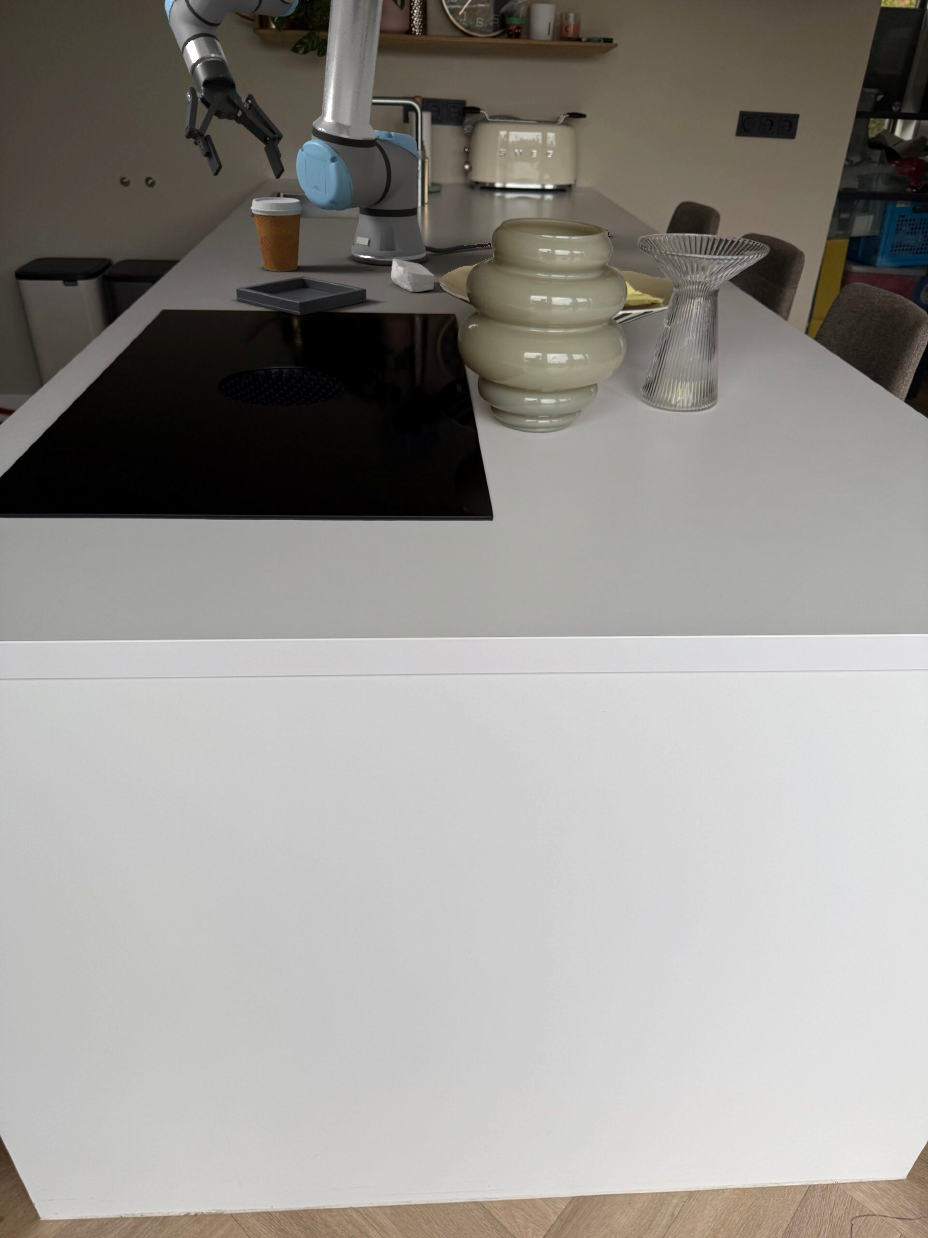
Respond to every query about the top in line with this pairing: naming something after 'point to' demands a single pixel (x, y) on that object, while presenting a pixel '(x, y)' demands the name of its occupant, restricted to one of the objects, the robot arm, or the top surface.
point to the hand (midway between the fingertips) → (249, 172)
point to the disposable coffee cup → (278, 231)
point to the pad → (301, 295)
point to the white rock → (411, 276)
